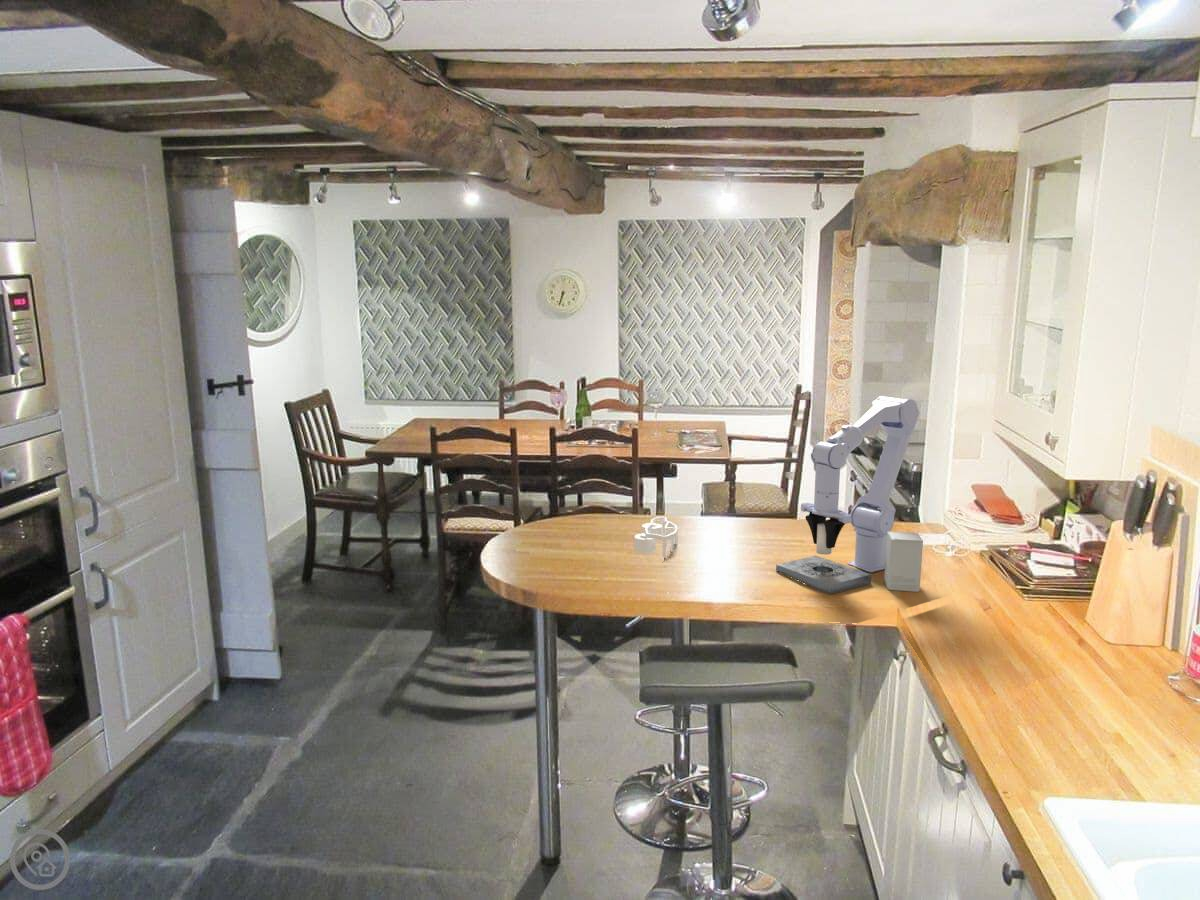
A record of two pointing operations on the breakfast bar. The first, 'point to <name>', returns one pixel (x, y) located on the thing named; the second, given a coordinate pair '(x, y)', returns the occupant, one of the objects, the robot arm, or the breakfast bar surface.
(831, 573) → the socket plate
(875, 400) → the robot arm
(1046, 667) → the breakfast bar surface
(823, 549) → the peg
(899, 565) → the supplement box
